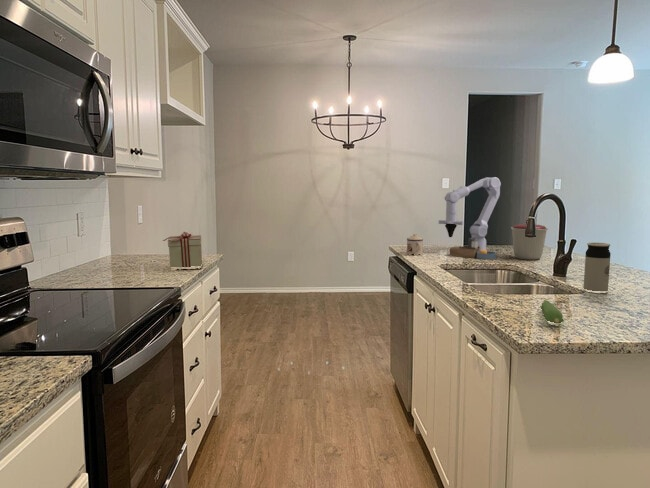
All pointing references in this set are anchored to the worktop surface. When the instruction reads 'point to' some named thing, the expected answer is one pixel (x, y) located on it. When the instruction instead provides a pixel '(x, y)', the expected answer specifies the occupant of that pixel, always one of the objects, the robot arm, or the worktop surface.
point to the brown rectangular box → (464, 251)
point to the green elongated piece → (551, 312)
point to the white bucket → (528, 242)
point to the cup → (486, 255)
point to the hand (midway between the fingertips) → (450, 237)
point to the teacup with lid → (414, 245)
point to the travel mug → (597, 267)
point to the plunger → (472, 243)
